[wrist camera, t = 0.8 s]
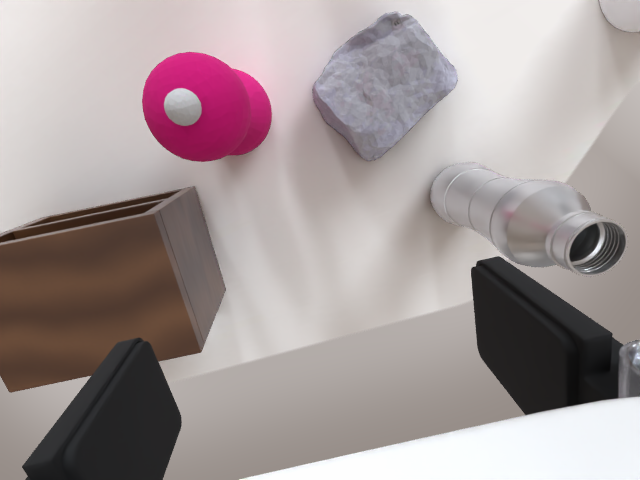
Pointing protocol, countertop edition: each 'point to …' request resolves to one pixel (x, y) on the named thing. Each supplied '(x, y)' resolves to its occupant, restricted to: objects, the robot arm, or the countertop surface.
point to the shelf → (105, 286)
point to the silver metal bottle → (529, 219)
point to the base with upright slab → (622, 14)
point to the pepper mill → (205, 108)
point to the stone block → (383, 83)
